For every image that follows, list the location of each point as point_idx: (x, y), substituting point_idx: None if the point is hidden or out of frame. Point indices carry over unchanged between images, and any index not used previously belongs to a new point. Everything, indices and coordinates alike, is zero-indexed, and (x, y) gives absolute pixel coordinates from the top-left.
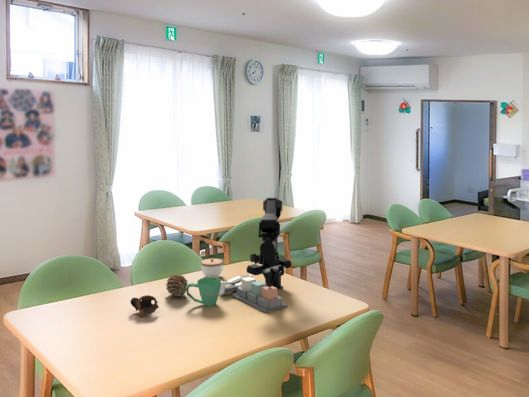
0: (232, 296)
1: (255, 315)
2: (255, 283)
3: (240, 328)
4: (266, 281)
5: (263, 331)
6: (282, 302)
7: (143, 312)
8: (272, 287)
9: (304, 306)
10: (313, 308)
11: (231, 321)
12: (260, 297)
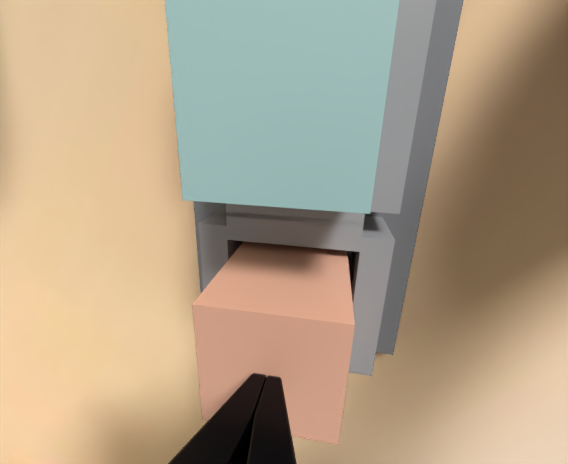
0: None
1: (145, 303)
2: (215, 70)
3: (22, 361)
4: (192, 449)
5: (96, 437)
6: (402, 306)
7: None
8: (308, 393)
9: (483, 406)
10: (490, 455)
11: (4, 277)
12: (218, 250)
